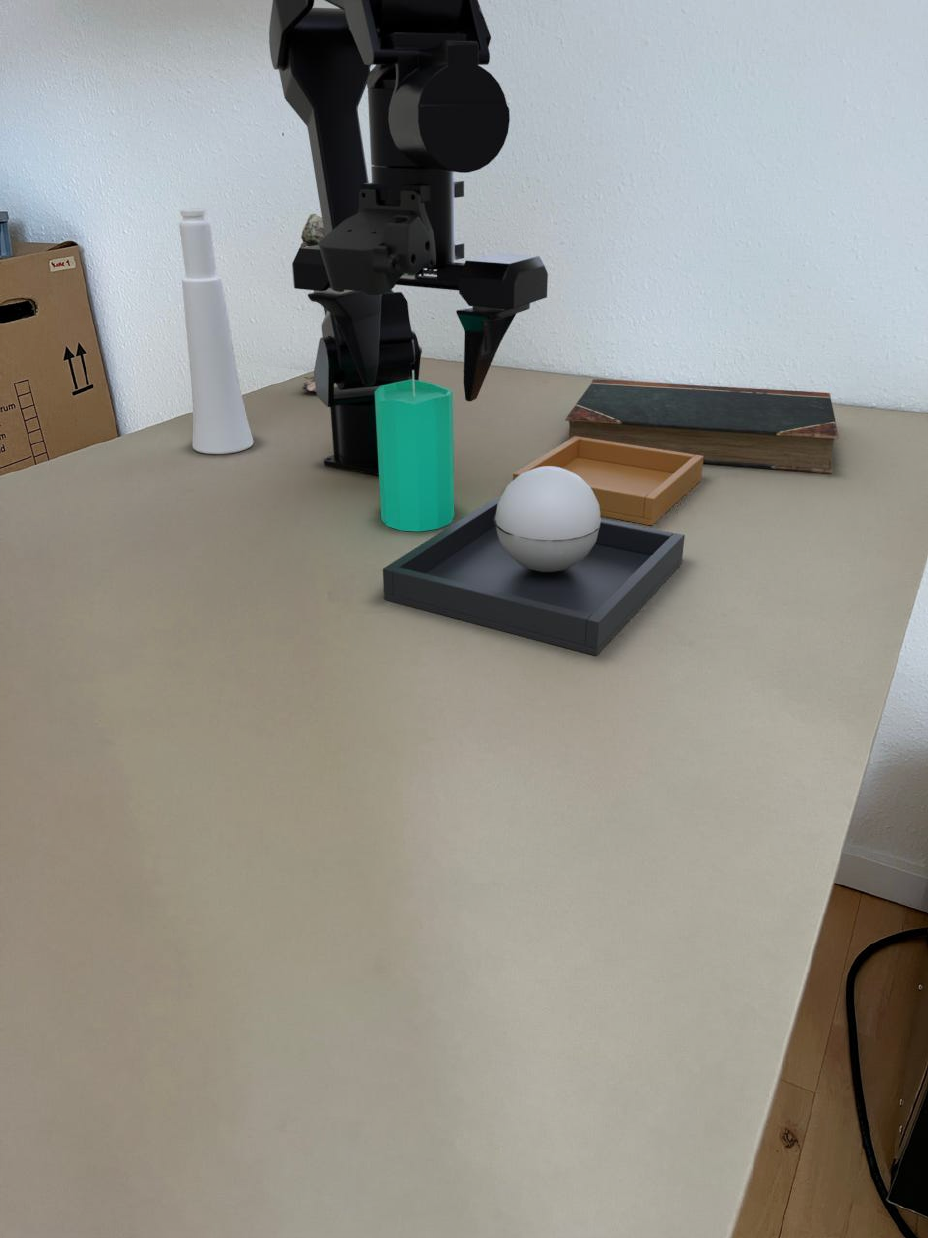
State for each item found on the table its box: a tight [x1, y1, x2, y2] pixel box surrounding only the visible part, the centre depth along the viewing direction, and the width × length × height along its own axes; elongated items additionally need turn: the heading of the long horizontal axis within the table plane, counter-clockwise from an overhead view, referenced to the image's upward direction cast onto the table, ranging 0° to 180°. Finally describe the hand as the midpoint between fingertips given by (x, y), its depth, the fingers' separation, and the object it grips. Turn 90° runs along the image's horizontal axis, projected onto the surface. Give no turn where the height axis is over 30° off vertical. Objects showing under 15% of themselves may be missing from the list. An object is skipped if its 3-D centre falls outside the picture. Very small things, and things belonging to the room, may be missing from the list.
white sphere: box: [493, 466, 602, 572], centre depth 64 cm, size 10×7×7 cm
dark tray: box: [382, 497, 686, 656], centre depth 66 cm, size 16×16×2 cm
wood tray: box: [512, 436, 704, 527], centre depth 82 cm, size 13×13×2 cm
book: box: [564, 378, 840, 474], centre depth 95 cm, size 17×4×25 cm
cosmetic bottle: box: [178, 208, 255, 455], centre depth 90 cm, size 6×6×22 cm
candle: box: [375, 370, 455, 532], centre depth 74 cm, size 6×6×12 cm
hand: (418, 392), depth 72 cm, fingers open, 9 cm apart
